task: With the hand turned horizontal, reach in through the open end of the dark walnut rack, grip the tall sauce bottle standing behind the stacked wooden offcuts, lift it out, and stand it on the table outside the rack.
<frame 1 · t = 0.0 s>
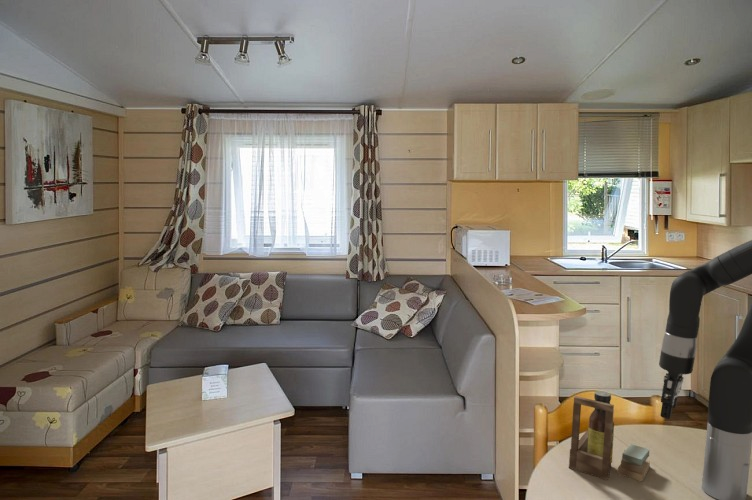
hand: (668, 412, 140), 17 cm above the table, tool pointing down, fingers open, 8 cm apart
sauce bottle: (598, 466, 147), on the table
offcut stack: (633, 471, 145), on the table
walnut rack: (595, 462, 148), on the table
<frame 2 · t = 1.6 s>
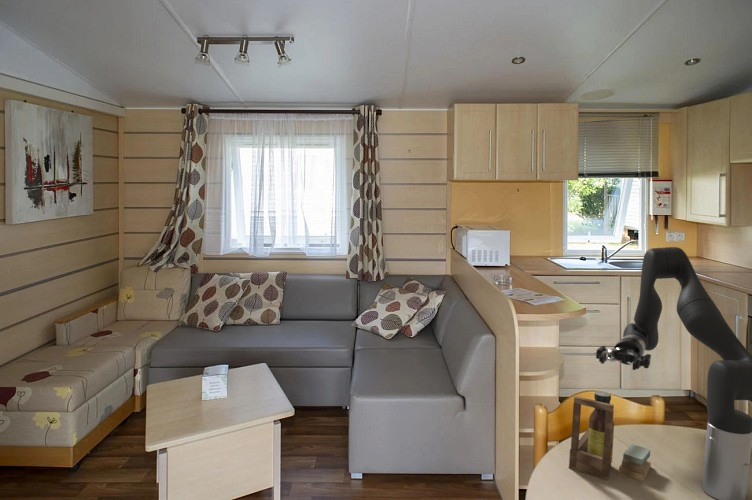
hand: (617, 363, 156), 24 cm above the table, tool horizontal, fingers open, 8 cm apart
nothing on the table moved.
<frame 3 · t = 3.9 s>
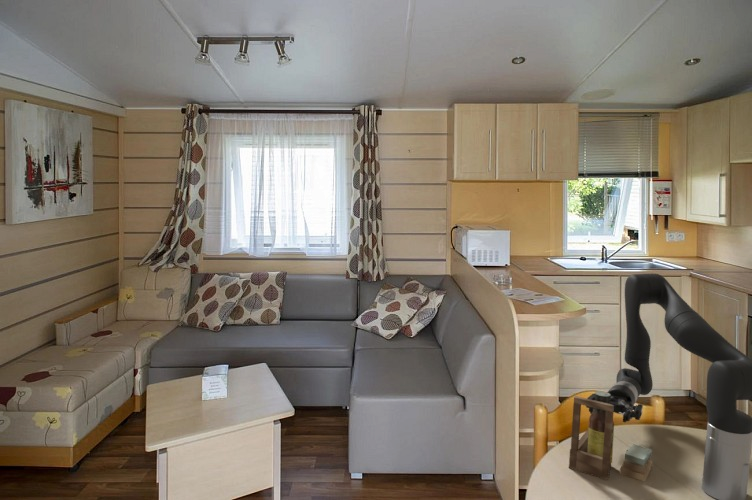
hand: (607, 414, 151), 12 cm above the table, tool horizontal, fingers open, 8 cm apart
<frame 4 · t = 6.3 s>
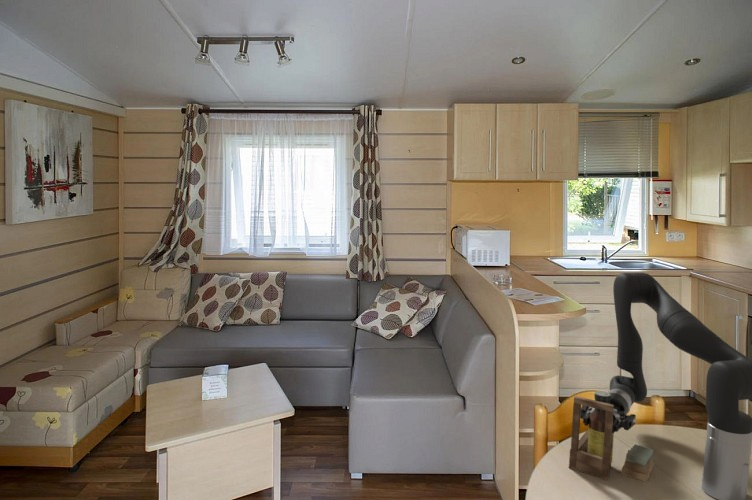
hand: (599, 425, 144), 12 cm above the table, tool horizontal, fingers closed on sauce bottle, 6 cm apart
sauce bottle: (598, 466, 147), on the table, touching gripper
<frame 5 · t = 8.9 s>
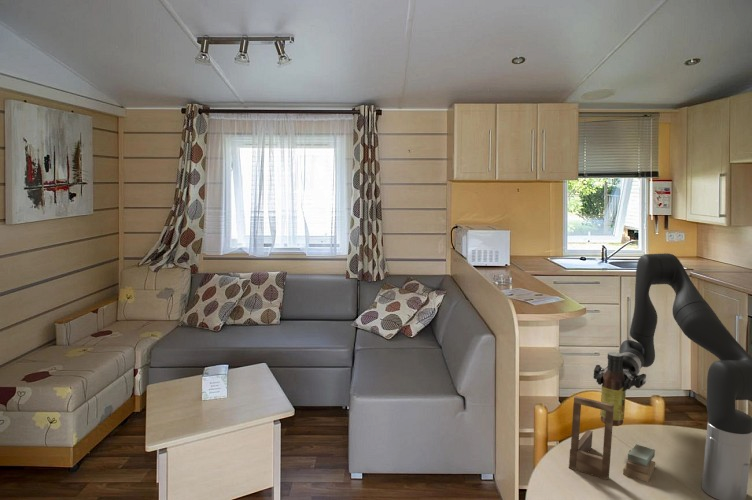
hand: (612, 383, 152), 20 cm above the table, tool horizontal, fingers closed on sauce bottle, 6 cm apart
sauce bottle: (611, 422, 156), point 8 cm above the table, touching gripper
when the fingers open (13 cm above the table, at t = 11.5 s): sauce bottle drops 1 cm, on the table.
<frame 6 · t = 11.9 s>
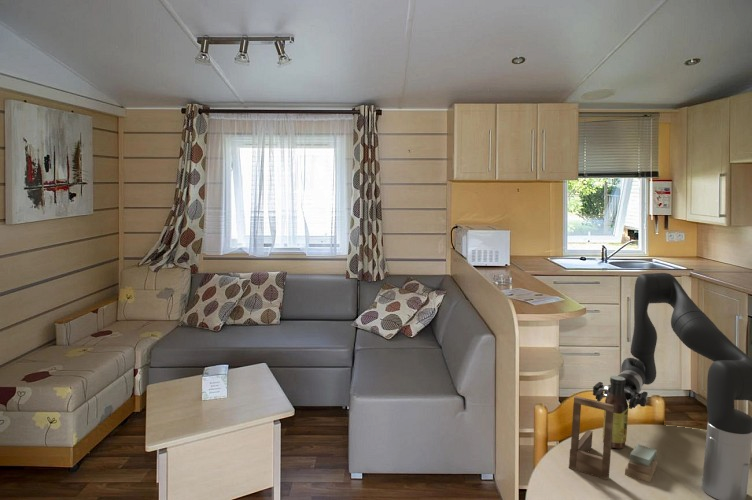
hand: (614, 401, 156), 14 cm above the table, tool horizontal, fingers open, 8 cm apart
sauce bottle: (613, 445, 159), on the table
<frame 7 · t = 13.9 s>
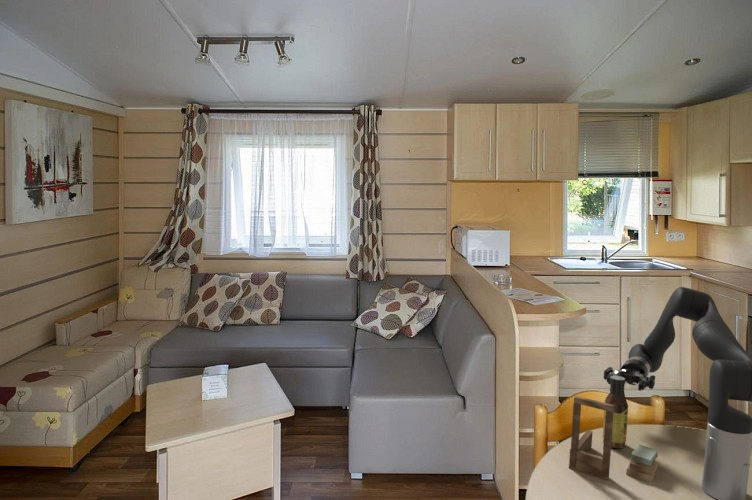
hand: (624, 384, 166), 15 cm above the table, tool horizontal, fingers open, 8 cm apart
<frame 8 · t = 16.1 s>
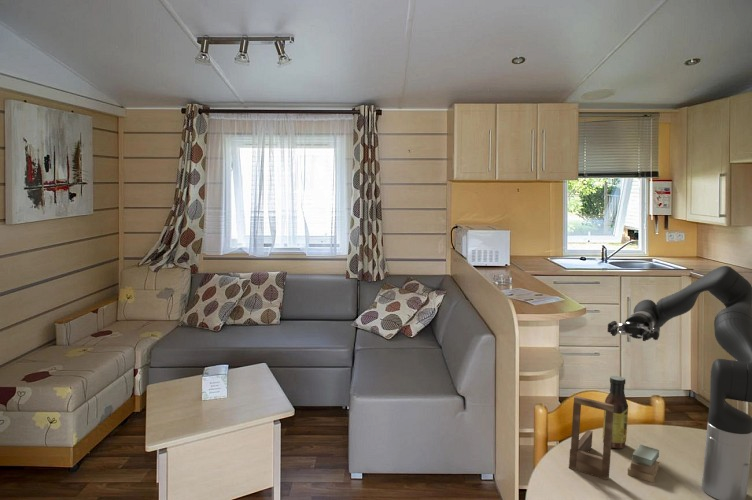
hand: (628, 335, 164), 30 cm above the table, tool horizontal, fingers open, 8 cm apart
at the end: sauce bottle inside the target area (0.3 cm from its centre), on the table; sauce bottle tilted 0°; offcut stack moved 2.5 cm from its start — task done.
